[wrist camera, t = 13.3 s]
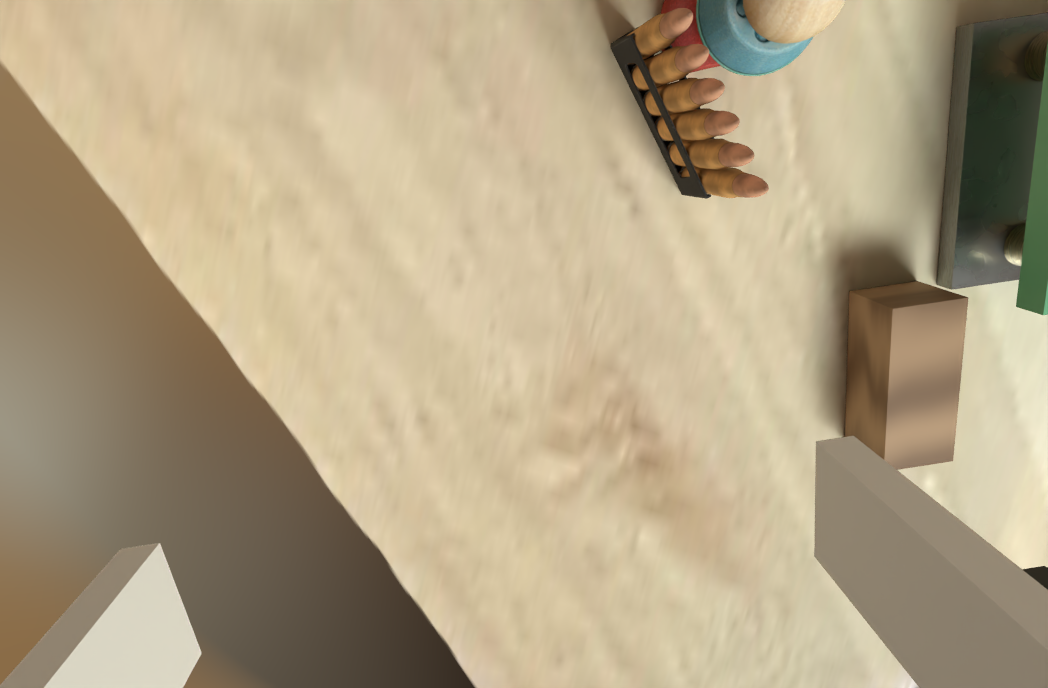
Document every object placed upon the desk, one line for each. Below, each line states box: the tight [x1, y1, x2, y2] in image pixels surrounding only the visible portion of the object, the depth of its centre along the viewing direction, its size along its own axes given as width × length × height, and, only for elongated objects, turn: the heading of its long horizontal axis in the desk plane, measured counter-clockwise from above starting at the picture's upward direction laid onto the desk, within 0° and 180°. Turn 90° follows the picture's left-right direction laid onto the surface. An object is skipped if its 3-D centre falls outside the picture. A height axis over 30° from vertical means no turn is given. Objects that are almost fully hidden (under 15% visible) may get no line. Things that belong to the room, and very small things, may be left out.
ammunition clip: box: [611, 8, 769, 198], centre depth 35 cm, size 11×2×12 cm, turn 30°
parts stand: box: [845, 281, 968, 470], centre depth 45 cm, size 12×5×5 cm, turn 8°
